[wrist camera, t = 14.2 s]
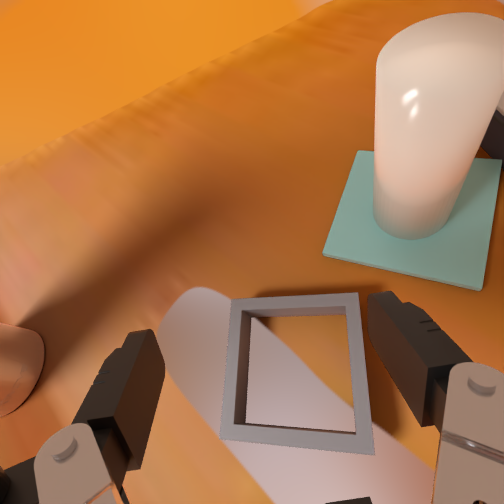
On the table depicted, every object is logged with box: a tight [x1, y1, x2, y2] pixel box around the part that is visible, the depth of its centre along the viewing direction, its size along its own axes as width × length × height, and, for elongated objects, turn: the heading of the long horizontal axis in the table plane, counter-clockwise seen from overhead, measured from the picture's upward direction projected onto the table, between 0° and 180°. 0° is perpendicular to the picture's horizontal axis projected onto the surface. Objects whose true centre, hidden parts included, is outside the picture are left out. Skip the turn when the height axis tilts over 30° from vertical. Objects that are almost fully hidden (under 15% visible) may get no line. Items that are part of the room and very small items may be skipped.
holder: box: [219, 292, 375, 455], centre depth 24 cm, size 10×10×2 cm
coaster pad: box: [322, 150, 502, 291], centre depth 27 cm, size 12×12×1 cm
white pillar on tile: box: [373, 12, 504, 240], centre depth 21 cm, size 8×6×14 cm
